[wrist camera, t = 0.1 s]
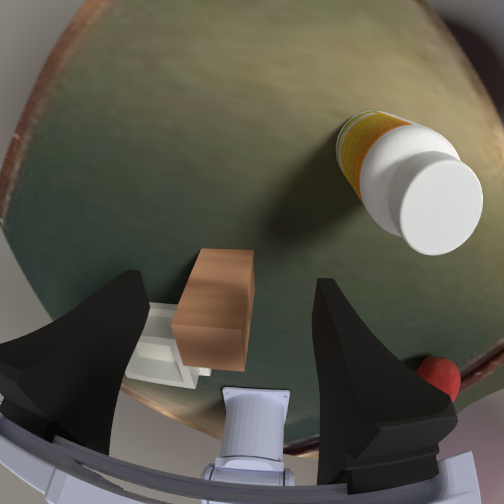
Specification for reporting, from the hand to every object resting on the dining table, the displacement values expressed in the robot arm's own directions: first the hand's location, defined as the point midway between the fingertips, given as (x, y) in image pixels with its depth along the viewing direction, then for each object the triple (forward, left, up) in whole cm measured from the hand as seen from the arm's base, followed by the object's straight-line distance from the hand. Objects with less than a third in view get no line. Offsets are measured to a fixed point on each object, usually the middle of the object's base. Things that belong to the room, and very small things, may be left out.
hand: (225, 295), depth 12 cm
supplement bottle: (+4, -8, -10) cm, 14 cm away
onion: (-18, -20, -10) cm, 29 cm away
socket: (-15, +10, -10) cm, 21 cm away
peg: (-6, +2, -10) cm, 12 cm away
